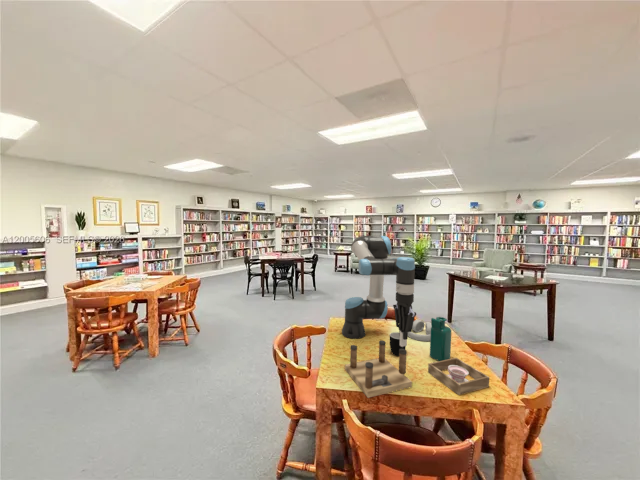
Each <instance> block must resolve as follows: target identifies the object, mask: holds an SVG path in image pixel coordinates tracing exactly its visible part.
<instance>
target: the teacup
mask: <svg viewBox="0 0 640 480" xmlns="http://www.w3.org/2000/svg"><path fill="white" fill-rule="evenodd" d="M447 372H448V374H447V375H448V376H449V377H450V378H452V379H453V380H455V381H456V382H458V383H463V382H466V381H470V380H468V379H467V376H469V375H468V374H469V372H468V371H467V370H466V369H465V368H463V367H460V366H457V365H450V366H448V369H447Z"/></svg>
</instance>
